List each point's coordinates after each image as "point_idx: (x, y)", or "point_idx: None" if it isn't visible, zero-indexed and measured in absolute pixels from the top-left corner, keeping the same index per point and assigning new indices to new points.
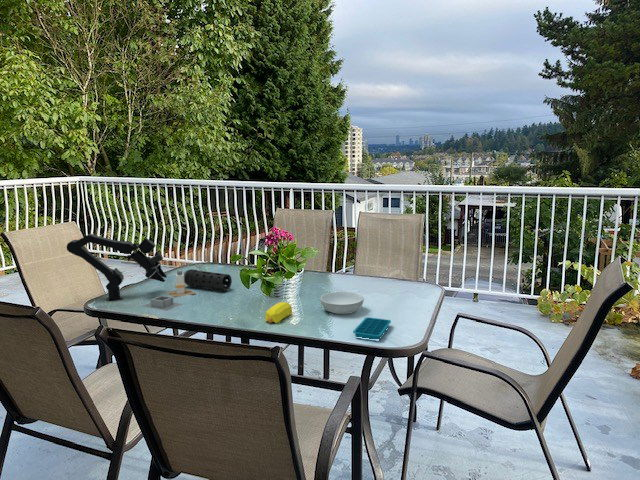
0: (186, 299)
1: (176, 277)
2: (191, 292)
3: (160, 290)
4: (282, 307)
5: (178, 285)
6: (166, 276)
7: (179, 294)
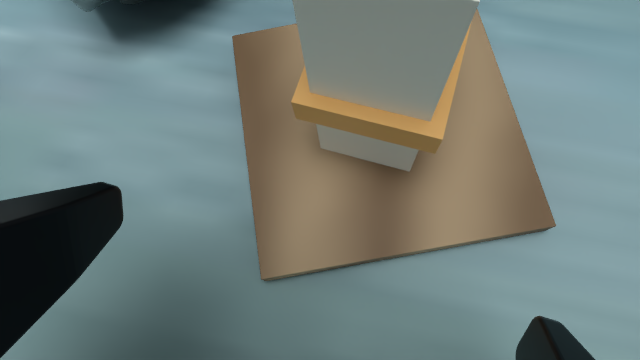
0: (607, 116)
1: (472, 17)
2: None
3: (59, 302)
4: None
5: (452, 92)
6: (117, 191)
7: (447, 147)
